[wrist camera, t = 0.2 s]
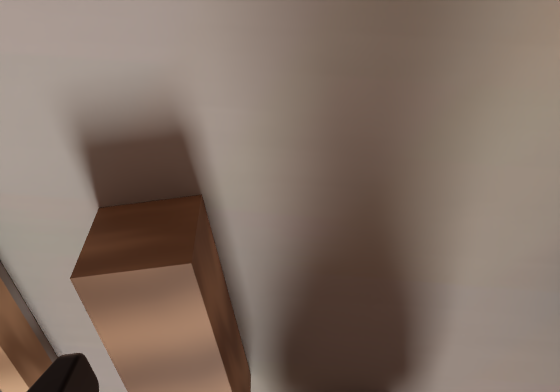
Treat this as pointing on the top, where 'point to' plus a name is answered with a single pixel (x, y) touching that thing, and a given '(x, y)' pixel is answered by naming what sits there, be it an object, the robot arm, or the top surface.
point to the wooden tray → (20, 341)
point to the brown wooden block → (161, 298)
